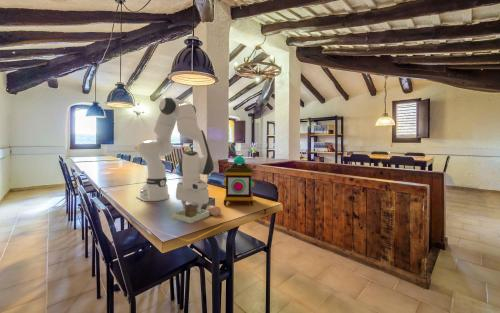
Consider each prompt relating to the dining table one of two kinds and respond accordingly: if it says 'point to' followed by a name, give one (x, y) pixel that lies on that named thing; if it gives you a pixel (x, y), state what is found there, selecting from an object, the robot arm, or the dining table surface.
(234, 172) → the decorative lantern
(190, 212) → the walnut block
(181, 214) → the pale green tray
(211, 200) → the dark grey square bin
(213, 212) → the potato
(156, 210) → the dining table surface
